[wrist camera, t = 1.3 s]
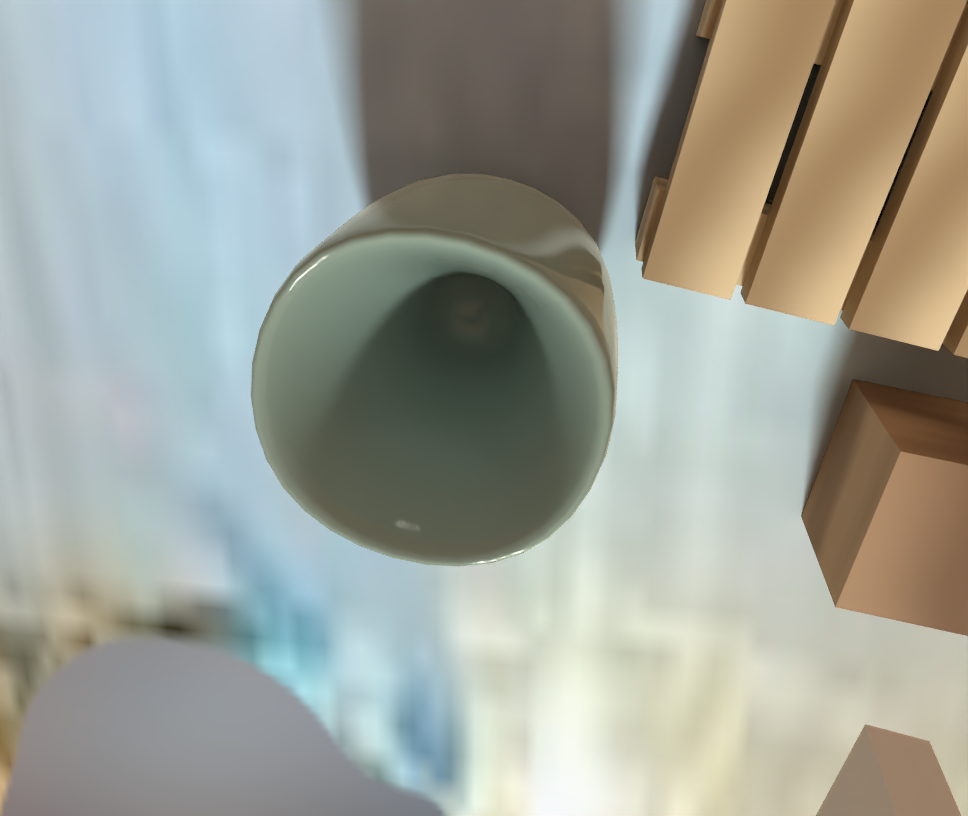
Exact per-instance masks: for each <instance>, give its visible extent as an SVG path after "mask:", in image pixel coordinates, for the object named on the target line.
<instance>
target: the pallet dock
mask: <svg viewBox="0 0 968 816" xmlns="http://www.w3.org/2000/svg"><path fill="white" fill-rule="evenodd" d="M966 2H967V0H706V2H705V5H704V9H703V12H702V15H701V19H700V22H699V26H698V29H697V32H696V36H699V37H703V38H708V39H710V42H709V45H708V48H707V52H706V55H705V58H704V62H703V65H702V68H701V72H700V75H699V78H698V82H697V85H696V88H695V92H694V95H693V98H692V102H691V105H690V108H689V112H688V115H687V118H686V122H685V125H684V128H683V132H682V135H681V139H680V142H679V145H678V149H677V152H676V155H675V159H674V162H673V165H672V169H671V172H670V175H669V179H664V178H660V177H656V176H654V180H653V183H652V187H651V190H650V193H649V197H648V200H647V204H646V207H645V211H644V214H643V217H642V221H641V224H640V228H639V231H638V235H637V238H636V241H635V248H636V259H637V260H639V261H643V266H642V277H643V278H644V279H648V280H652V281H656V282H660V283H664V284H668V285H672V286H676V287H680V288H684V289H688V290H692V291H697V292H701V293H705V294H709V295H713V296H717V297H721V298H725V299H729V300H731V298H732V295H733V292H734V289H735V286H736V284H737V285H741V286H743V287H742V290H741V295H742V297H743V299H744V301H745V304H749V305H754V306H758V307H762V308H766V309H770V310H774V311H778V312H782V313H786V314H790V315H794V316H798V317H802V318H806V319H811V320H815V321H819V322H823V323H827V324H831V325H835V322H836V320H837V317H838V315H839V312H840V310H843V312H842V314H841V317H840V318H841V319H842V320H843V322H844V323H845V324H846V326H847V327H848V328H849V329H851V330H855V331H859V332H863V333H868V334H872V335H876V336H880V337H884V338H888V339H892V340H896V341H900V342H904V343H908V344H912V345H916V346H920V347H925V348H929V349H933V350H937V351H939V349H940V347H941V345H942V344H943V345H944V346H945V347H946V348H947V349H948V350H949V351H950V352H951V353H952V354H953V355H957V356H961V357H965V358H968V3H966ZM813 64H818V65H821V67H820V70H819V73H818V75H817V78H816V81H815V84H814V87H813V89H812V92H811V95H810V98H809V101H808V104H807V106H806V109H805V112H804V115H803V118H802V121H801V123H800V126H799V129H798V132H797V135H796V137H795V140H794V143H793V146H792V149H791V152H790V154H789V157H788V160H787V163H786V166H785V169H784V171H783V174H782V177H781V180H780V183H779V186H778V188H777V191H776V194H775V197H774V200H773V202H772V204H768V203H765V201H766V198H767V195H768V192H769V189H770V186H771V183H772V181H773V178H774V175H775V172H776V169H777V166H778V163H779V161H780V158H781V155H782V152H783V149H784V146H785V143H786V141H787V138H788V135H789V132H790V129H791V126H792V123H793V121H794V118H795V115H796V112H797V109H798V106H799V103H800V101H801V98H802V95H803V92H804V89H805V86H806V83H807V81H808V78H809V75H810V72H811V69H812V66H813ZM930 91H933V93H932V95H931V98H930V100H929V102H928V105H927V107H926V110H925V112H924V115H923V117H922V119H921V122H920V124H919V127H918V129H917V132H916V134H915V136H914V139H913V141H912V144H911V146H910V149H909V151H908V153H907V156H906V158H905V161H904V163H903V166H902V168H901V171H900V173H899V175H898V178H897V180H896V183H895V185H894V188H893V190H892V192H891V195H890V197H889V200H888V202H887V205H886V207H885V209H884V212H883V214H882V217H881V219H880V222H879V224H878V227H877V229H874V227H875V224H876V222H877V220H878V217H879V215H880V212H881V210H882V207H883V205H884V202H885V200H886V198H887V195H888V193H889V190H890V188H891V185H892V183H893V181H894V178H895V176H896V173H897V171H898V168H899V166H900V163H901V161H902V159H903V156H904V154H905V151H906V149H907V146H908V144H909V141H910V139H911V137H912V134H913V132H914V129H915V127H916V124H917V122H918V119H919V117H920V115H921V112H922V110H923V107H924V105H925V102H926V100H927V97H928V95H929V93H930Z"/></svg>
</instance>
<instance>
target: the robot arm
mask: <svg viewBox="0 0 968 816" xmlns="http://www.w3.org/2000/svg"><path fill="white" fill-rule="evenodd" d="M816 816H961V814H960V812H959V809H958V807H957V805H956V802H955V800H954V798H953V795H952V793H951V791H950V788H949V786H948V784H947V781H946V779H945V777H944V774H943V772H942V770H941V767H940V765H939V763H938V760H937V758H936V756H935V753H934V751H933V749H932V746H931V744H930V742H929V741H926V740H922V739H919V738H915V737H911V736H907V735H904V734H900V733H896V732H892V731H889V730H885V729H881V728H877V727H873V726H870V725H866V724H865V726H864V728H863V730H862V731H861V733H860V735H859V737H858V739H857V741H856V743H855V744H854V746H853V748H852V750H851V752H850V754H849V756H848V757H847V759H846V761H845V763H844V765H843V767H842V769H841V770H840V772H839V774H838V776H837V778H836V780H835V781H834V783H833V785H832V787H831V789H830V791H829V793H828V794H827V796H826V798H825V800H824V802H823V804H822V806H821V807H820V809H819V811H818V813H817V815H816Z"/></svg>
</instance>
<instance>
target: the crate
mask: <svg viewBox="0 0 968 816" xmlns="http://www.w3.org/2000/svg"><path fill="white" fill-rule="evenodd" d="M801 517H802V520H803V522H804V525H805V528H806V530H807V533H808V536H809V538H810V541H811V544H812V546H813V549H814V551H815V554H816V557H817V559H818V562H819V565H820V567H821V570H822V573H823V575H824V578H825V581H826V583H827V586H828V589H829V591H830V594H831V597H832V599H833V602H834V605H835V607H838V608H842V609H847V610H852V611H856V612H861V613H865V614H870V615H875V616H879V617H884V618H888V619H893V620H898V621H902V622H907V623H911V624H916V625H921V626H925V627H930V628H934V629H939V630H944V631H948V632H953V633H957V634H962V635H967V636H968V403H967V402H962V401H957V400H952V399H947V398H942V397H937V396H932V395H927V394H922V393H917V392H912V391H908V390H903V389H898V388H893V387H888V386H883V385H878V384H873V383H868V382H863V381H858V380H853V381H852V383H851V386H850V389H849V391H848V394H847V396H846V399H845V402H844V404H843V407H842V410H841V412H840V415H839V418H838V420H837V423H836V426H835V428H834V431H833V434H832V436H831V439H830V441H829V444H828V447H827V449H826V452H825V455H824V457H823V460H822V463H821V465H820V468H819V471H818V473H817V476H816V479H815V481H814V484H813V486H812V489H811V492H810V494H809V497H808V500H807V502H806V505H805V508H804V510H803V513H802V516H801Z"/></svg>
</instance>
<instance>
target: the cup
mask: <svg viewBox="0 0 968 816" xmlns="http://www.w3.org/2000/svg"><path fill="white" fill-rule="evenodd" d="M617 377H618V332H617V318H616V311H615V305H614V299H613V293H612V287H611V281H610V277H609V273H608V270H607V268H606V266H605V263H604V261H603V258H602V256H601V253H600V251H599V248H598V246H597V244H596V243H595V241H594V240H593V238H592V237H591V235H590V234H589V233H588V231H587V230H586V229H585V227H584V226H583V225H582V223H581V222H580V221H579V219H578V218H576V217H575V216H574V215H573V214H572V213H571V212H569V211H568V210H567V209H566V208H565V207H564V206H563V205H561V204H560V203H559V202H558V201H556V200H554V199H552V198H551V197H549V196H547V195H545V194H544V193H542V192H540V191H538V190H537V189H535V188H533V187H530V186H527V185H524V184H521V183H519V182H516V181H513V180H510V179H507V178H502V177H496V176H490V175H485V174H448V175H443V176H438V177H433V178H428V179H423V180H419V181H416V182H414V183H411V184H409V185H407V186H405V187H403V188H400V189H398V190H396V191H394V192H392V193H390V194H387V195H385V196H384V197H382V198H380V199H378V200H376V201H375V202H373V203H372V204H370V205H369V206H367V207H366V208H364V209H363V210H362V211H360V212H359V213H358V214H356V215H355V216H354V217H352V218H351V219H350V220H348V221H347V222H346V223H344V224H343V225H342V226H341V227H339V228H338V229H337V230H336V231H335V232H333V233H332V234H331V235H330V236H328V237H327V238H326V239H325V240H324V241H322V242H321V243H320V244H319V245H318V246H316V247H315V248H314V249H313V250H312V251H310V252H309V253H308V254H307V255H306V256H305V257H304V258H303V259H302V260H300V262H299V263H298V264H297V265H296V266H295V268H294V269H293V271H292V272H291V273H290V275H289V276H288V277H287V279H286V280H285V281H284V283H283V284H282V286H281V287H280V288H279V290H278V291H277V292H276V294H275V296H274V298H273V301H272V303H271V305H270V308H269V310H268V312H267V314H266V317H265V319H264V321H263V323H262V326H261V328H260V331H259V335H258V340H257V344H256V348H255V353H254V357H253V362H252V383H251V400H252V407H253V414H254V421H255V428H256V431H257V434H258V437H259V440H260V443H261V446H262V448H263V451H264V454H265V457H266V460H267V461H268V463H269V465H270V466H271V468H272V470H273V471H274V473H275V475H276V476H277V478H278V480H279V481H280V483H281V485H282V487H283V488H284V489H285V490H286V491H287V492H288V493H289V494H290V495H291V497H292V498H293V499H294V500H295V501H296V502H297V503H298V504H299V505H300V506H301V507H302V508H303V510H304V511H305V512H307V513H308V514H310V515H311V516H312V517H314V518H315V519H316V520H318V521H319V522H320V523H322V524H323V525H324V526H326V527H327V528H328V529H330V530H331V531H333V532H335V533H337V534H338V535H340V536H342V537H344V538H346V539H348V540H350V541H352V542H354V543H356V544H357V545H359V546H362V547H364V548H367V549H370V550H373V551H376V552H378V553H381V554H384V555H387V556H390V557H392V558H397V559H402V560H407V561H412V562H416V563H421V564H427V565H444V566H466V565H476V564H485V563H493V562H496V561H499V560H503V559H506V558H509V557H512V556H515V555H519V554H522V553H524V552H525V551H527V550H529V549H531V548H532V547H534V546H536V545H537V544H539V543H541V542H542V541H544V540H546V539H548V538H549V537H550V536H551V535H552V534H553V533H554V532H555V531H557V530H558V529H559V528H560V527H561V526H562V525H563V524H564V523H565V522H566V521H567V520H568V519H569V518H570V517H571V516H572V515H573V514H574V512H575V511H576V509H577V508H578V506H579V505H580V504H581V502H582V501H583V499H584V498H585V496H586V495H587V494H588V492H589V491H590V489H591V487H592V485H593V483H594V481H595V479H596V476H597V474H598V472H599V470H600V467H601V465H602V463H603V461H604V458H605V456H606V453H607V449H608V445H609V441H610V436H611V432H612V428H613V424H614V419H615V415H616V401H617Z"/></svg>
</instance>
